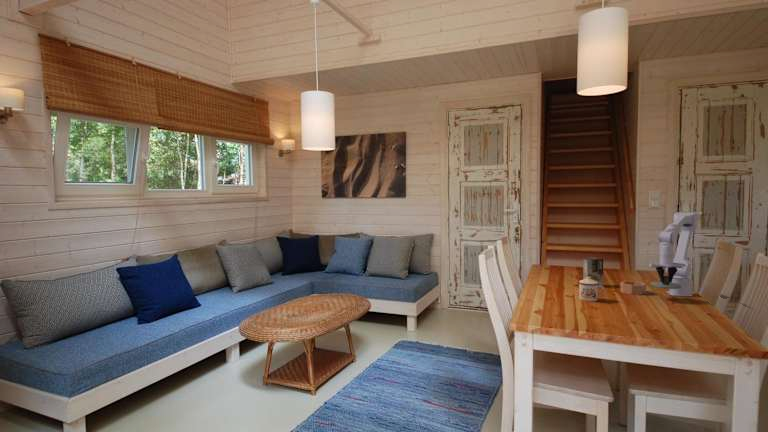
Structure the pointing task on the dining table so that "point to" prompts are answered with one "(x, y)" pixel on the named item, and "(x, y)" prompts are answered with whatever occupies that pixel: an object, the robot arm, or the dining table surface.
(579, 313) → the dining table surface
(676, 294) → the robot arm
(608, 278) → the dining table surface
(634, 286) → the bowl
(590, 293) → the teacup with lid
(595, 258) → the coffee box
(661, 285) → the lid
